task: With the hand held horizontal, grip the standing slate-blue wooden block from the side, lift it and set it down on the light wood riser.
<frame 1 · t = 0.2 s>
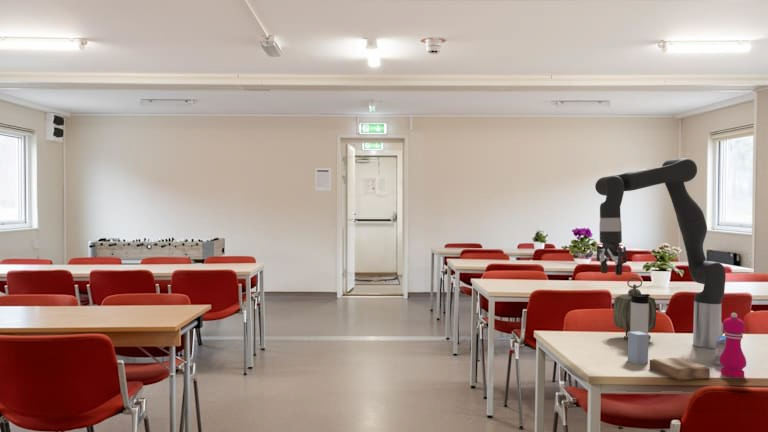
hand: (611, 274, 202), 29 cm above the table, tool pointing down, fingers open, 8 cm apart
light wood riser: (678, 373, 176), on the table
pepper mill: (732, 375, 175), on the table
slate-blue block: (637, 362, 188), on the table
label tape box: (723, 364, 189), on the table
travel mug: (639, 345, 213), on the table
tabletop clock: (632, 338, 225), on the table
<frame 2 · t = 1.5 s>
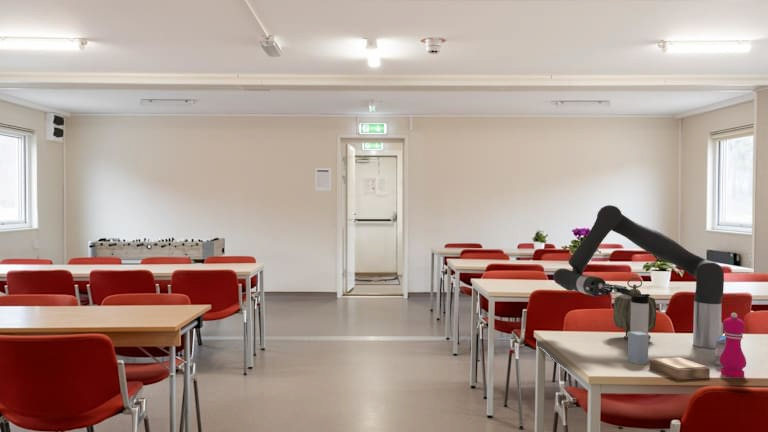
hand: (619, 292, 198), 22 cm above the table, tool horizontal, fingers open, 8 cm apart
nothing on the table moved.
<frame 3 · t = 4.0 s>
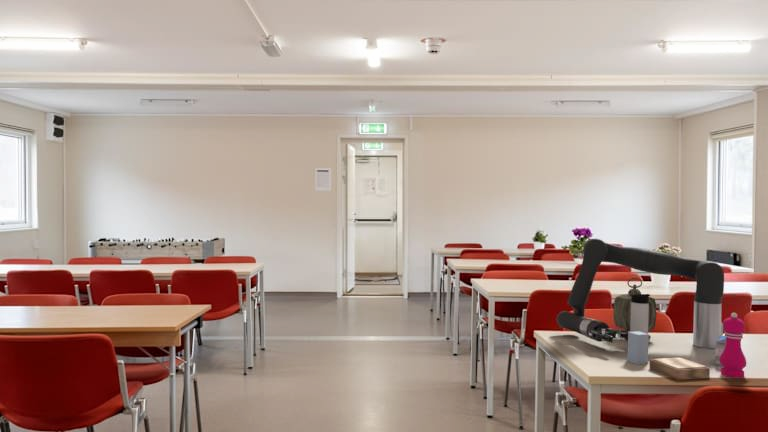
hand: (622, 339, 196), 6 cm above the table, tool horizontal, fingers open, 8 cm apart
nothing on the table moved.
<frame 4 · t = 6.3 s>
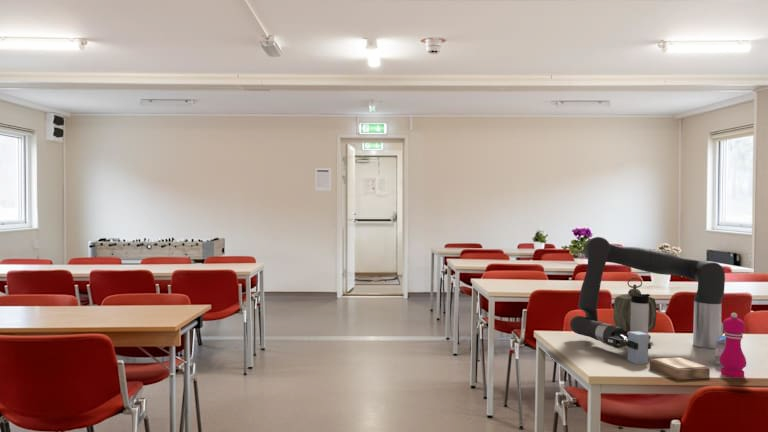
hand: (643, 346, 185), 6 cm above the table, tool horizontal, fingers closed on slate-blue block, 4 cm apart
slate-blue block: (637, 361, 188), on the table, touching gripper
everything else where it was.
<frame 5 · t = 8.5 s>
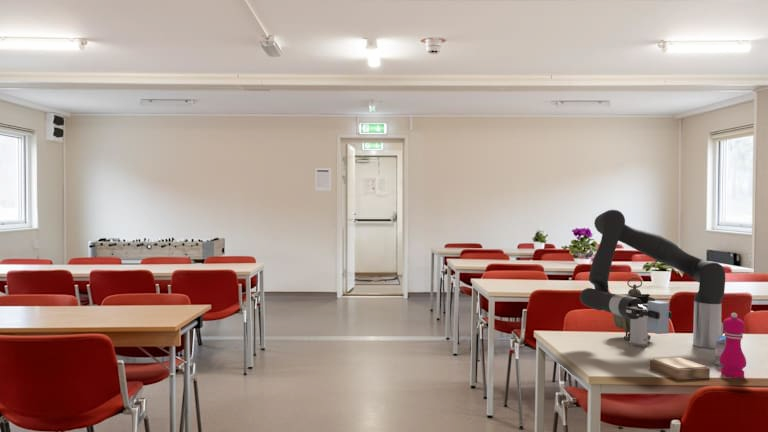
hand: (664, 315, 178), 18 cm above the table, tool horizontal, fingers closed on slate-blue block, 4 cm apart
slate-blue block: (657, 332, 181), point 12 cm above the table, touching gripper
everything else where it was.
when the fingers open (10 cm above the table, at t = 10.7 s): slate-blue block stays where it is, resting on light wood riser.
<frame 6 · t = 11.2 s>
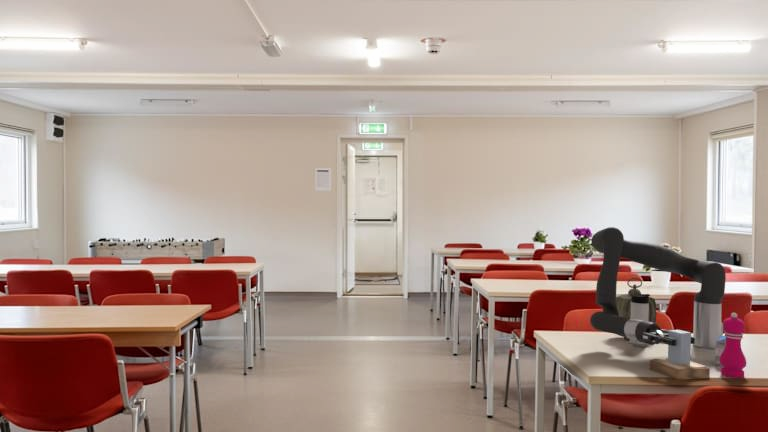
hand: (685, 341, 174), 11 cm above the table, tool horizontal, fingers open, 8 cm apart
slate-blue block: (678, 362, 175), point 3 cm above the table, touching light wood riser
everything else where it was.
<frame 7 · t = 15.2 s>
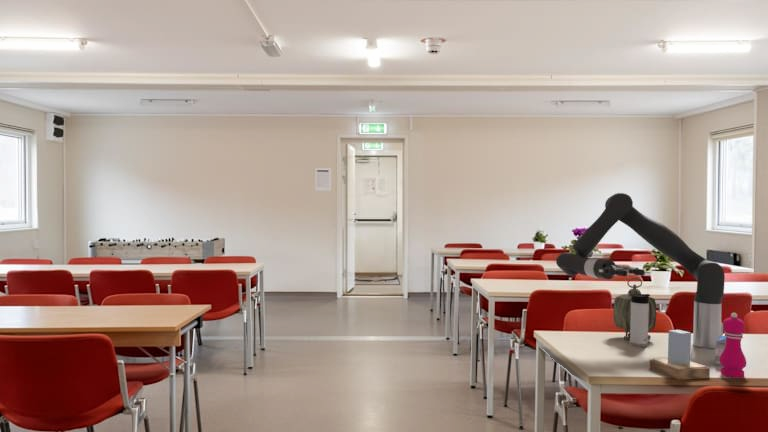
hand: (635, 273, 193), 30 cm above the table, tool horizontal, fingers open, 8 cm apart
nothing on the table moved.
at the end: slate-blue block inside the target area on the light wood riser (0.1 cm from its centre), point 3.4 cm above the light wood riser's base; slate-blue block tilted 0°; the gripper is holding nothing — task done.
